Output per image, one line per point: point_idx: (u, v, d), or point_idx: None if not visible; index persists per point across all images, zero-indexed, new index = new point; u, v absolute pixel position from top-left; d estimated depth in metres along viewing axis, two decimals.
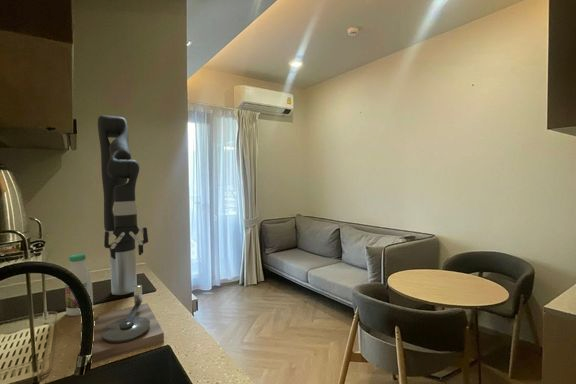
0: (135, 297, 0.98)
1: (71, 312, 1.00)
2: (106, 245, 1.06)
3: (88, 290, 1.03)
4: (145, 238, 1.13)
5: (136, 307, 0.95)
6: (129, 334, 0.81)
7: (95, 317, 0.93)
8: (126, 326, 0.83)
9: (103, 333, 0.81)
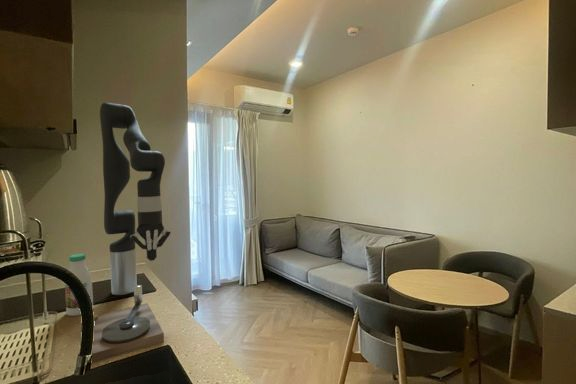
0: (135, 297, 0.98)
1: (71, 312, 1.00)
2: (142, 246, 0.99)
3: (88, 290, 1.03)
4: (161, 241, 1.03)
5: (136, 307, 0.95)
6: (129, 334, 0.81)
7: (95, 317, 0.93)
8: (126, 326, 0.83)
9: (103, 333, 0.81)
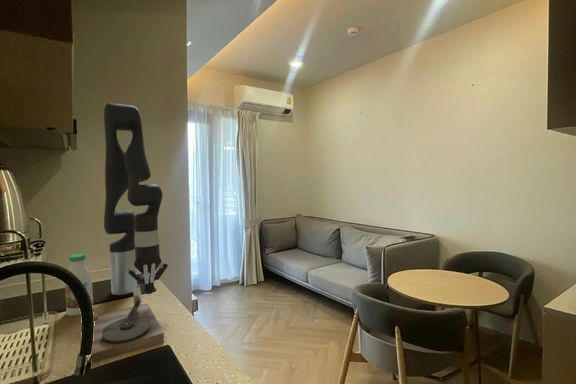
0: (134, 297, 0.98)
1: (71, 312, 1.00)
2: (140, 281, 0.99)
3: (88, 290, 1.03)
4: (159, 274, 1.03)
5: (136, 307, 0.95)
6: (130, 333, 0.81)
7: (95, 317, 0.93)
8: (126, 326, 0.83)
9: (103, 333, 0.81)
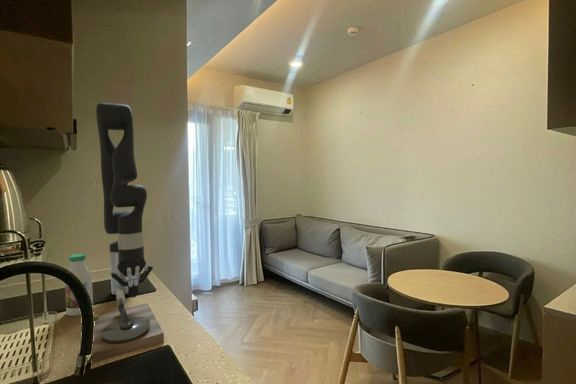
0: (118, 300, 0.96)
1: (71, 312, 1.00)
2: (123, 284, 0.97)
3: (88, 290, 1.03)
4: (143, 277, 1.00)
5: (123, 309, 0.94)
6: (136, 331, 0.82)
7: (95, 317, 0.93)
8: (128, 325, 0.84)
9: (106, 335, 0.80)
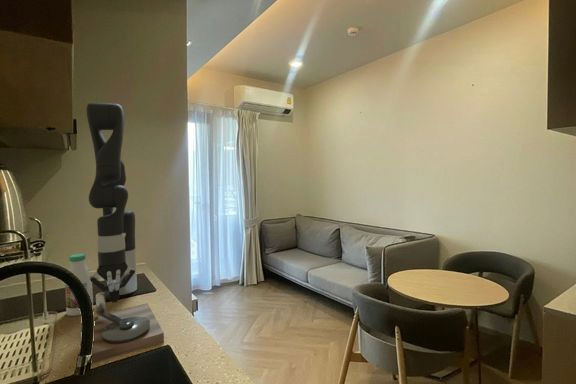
0: (100, 305, 0.92)
1: (71, 312, 1.00)
2: (103, 288, 0.93)
3: (88, 290, 1.03)
4: (125, 281, 0.96)
5: (108, 314, 0.91)
6: (142, 328, 0.84)
7: (95, 317, 0.93)
8: (131, 324, 0.84)
9: (112, 337, 0.79)
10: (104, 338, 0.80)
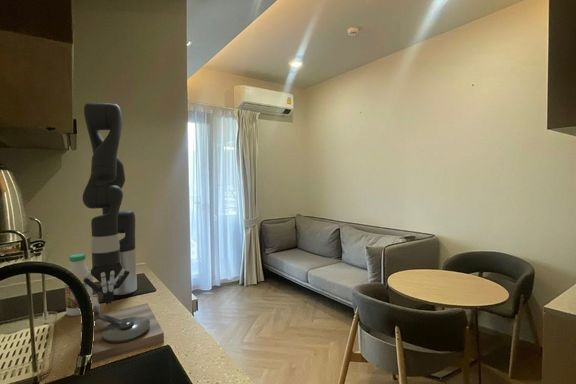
0: (94, 308, 0.91)
1: (71, 312, 1.00)
2: (97, 290, 0.91)
3: (88, 290, 1.03)
4: (119, 282, 0.95)
5: (103, 315, 0.90)
6: (143, 327, 0.85)
7: None
8: (131, 324, 0.84)
9: (114, 337, 0.79)
10: (105, 339, 0.80)
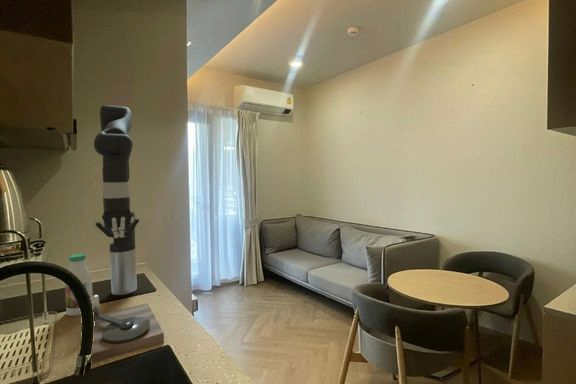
0: (94, 308, 0.91)
1: (71, 312, 1.00)
2: (108, 234, 0.95)
3: (88, 290, 1.03)
4: (129, 229, 0.98)
5: (103, 315, 0.90)
6: (143, 327, 0.85)
7: None
8: (131, 324, 0.84)
9: (114, 337, 0.79)
10: (105, 339, 0.80)
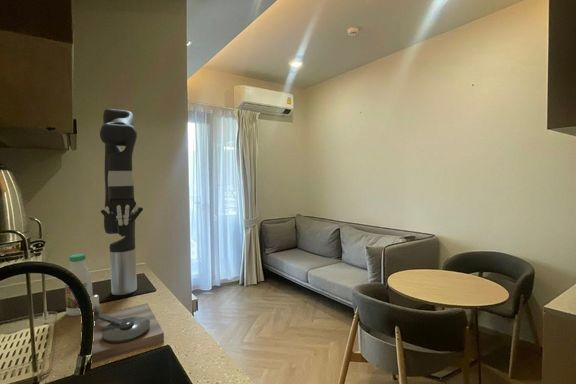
0: (94, 308, 0.91)
1: (71, 312, 1.00)
2: (113, 221, 0.97)
3: (88, 290, 1.03)
4: (133, 217, 1.01)
5: (103, 315, 0.90)
6: (143, 327, 0.85)
7: None
8: (131, 324, 0.84)
9: (114, 337, 0.79)
10: (105, 339, 0.80)
